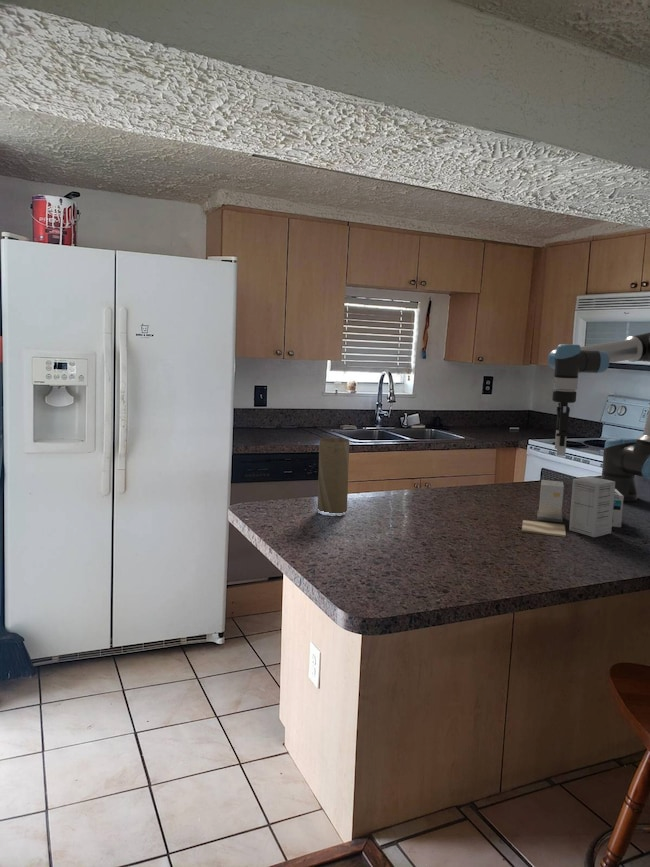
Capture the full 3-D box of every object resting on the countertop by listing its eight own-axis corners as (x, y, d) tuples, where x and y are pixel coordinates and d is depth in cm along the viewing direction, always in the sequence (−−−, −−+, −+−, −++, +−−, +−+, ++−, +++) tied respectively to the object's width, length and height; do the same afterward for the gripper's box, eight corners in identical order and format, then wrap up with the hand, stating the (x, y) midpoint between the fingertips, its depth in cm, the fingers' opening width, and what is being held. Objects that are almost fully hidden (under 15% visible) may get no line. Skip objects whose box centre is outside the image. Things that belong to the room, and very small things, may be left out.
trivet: (522, 521, 216) (522, 520, 216) (564, 526, 212) (564, 524, 212) (521, 531, 205) (521, 530, 205) (565, 536, 201) (565, 535, 201)
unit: (537, 512, 228) (539, 479, 226) (561, 515, 225) (564, 481, 223) (537, 519, 219) (539, 484, 217) (562, 522, 217) (565, 487, 215)
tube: (341, 507, 227) (343, 437, 223) (351, 515, 218) (353, 441, 214) (313, 509, 224) (315, 437, 220) (322, 517, 215) (324, 442, 211)
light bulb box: (621, 528, 213) (624, 495, 211) (599, 526, 214) (602, 494, 212) (614, 519, 223) (617, 488, 221) (593, 517, 224) (596, 486, 223)
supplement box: (612, 533, 206) (617, 481, 203) (594, 538, 201) (599, 484, 198) (585, 525, 214) (589, 475, 211) (567, 529, 209) (572, 478, 206)
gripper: (551, 387, 233) (546, 445, 237) (554, 392, 210) (549, 457, 213) (573, 388, 231) (568, 447, 235) (579, 393, 208) (573, 459, 211)
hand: (559, 452), depth 224 cm, fingers open, 13 cm apart
